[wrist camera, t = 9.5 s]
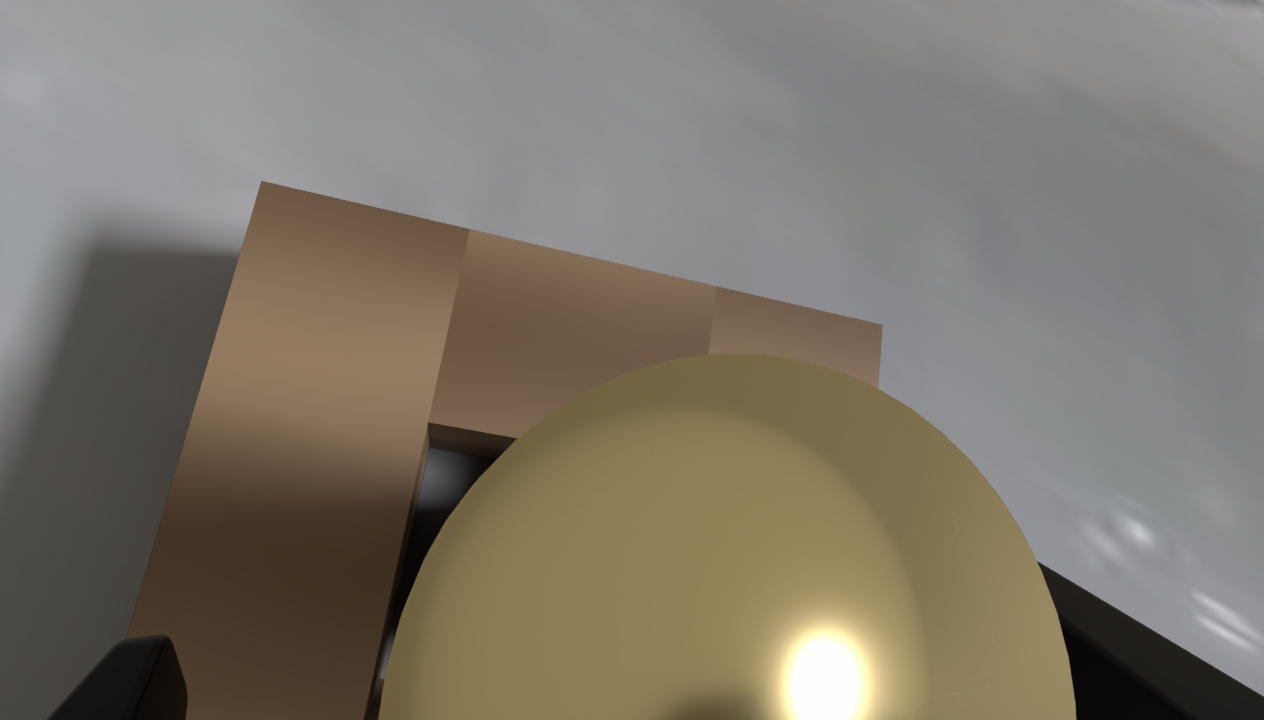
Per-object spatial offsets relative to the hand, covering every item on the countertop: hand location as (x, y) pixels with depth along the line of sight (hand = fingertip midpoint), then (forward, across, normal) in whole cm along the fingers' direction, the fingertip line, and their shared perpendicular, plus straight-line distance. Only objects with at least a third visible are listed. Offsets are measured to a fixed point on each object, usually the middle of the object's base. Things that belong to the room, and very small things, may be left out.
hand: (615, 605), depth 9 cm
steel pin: (+6, 0, +6) cm, 9 cm away
